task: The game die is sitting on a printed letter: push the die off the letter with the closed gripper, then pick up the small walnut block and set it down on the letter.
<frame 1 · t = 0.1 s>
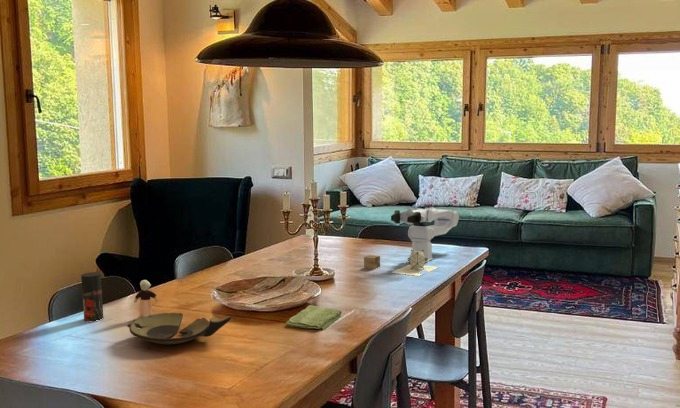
hand: (399, 218, 277), 22 cm above the table, tool horizontal, fingers open, 7 cm apart
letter: (415, 270, 278), on the table
deodorant: (93, 319, 217), on the table
grandmother figurine: (147, 318, 218), on the table
washcloth: (315, 323, 212), on the table
oil lamp: (177, 342, 195), on the table
game die: (417, 269, 280), resting on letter
walnut block: (372, 267, 284), on the table
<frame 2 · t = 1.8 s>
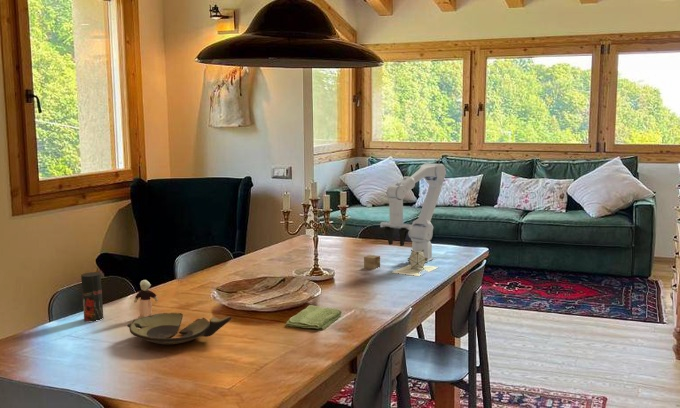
hand: (396, 244, 284), 9 cm above the table, tool pointing down, fingers open, 5 cm apart
nothing on the table moved.
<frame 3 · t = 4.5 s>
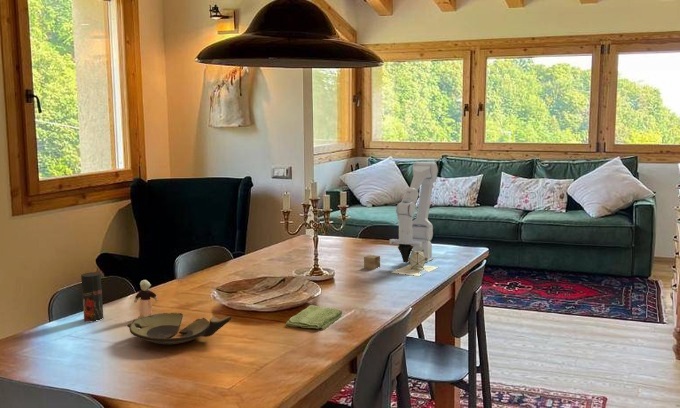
hand: (405, 262, 283), 2 cm above the table, tool pointing down, fingers closed
game die: (417, 269, 280), resting on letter, touching gripper
everything else where it was.
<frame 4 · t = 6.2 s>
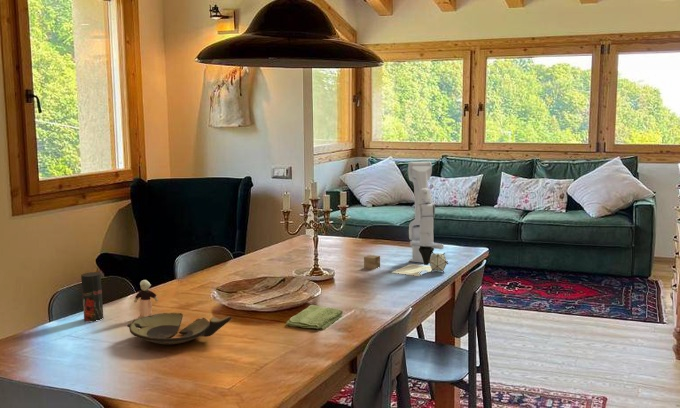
hand: (426, 264, 277), 2 cm above the table, tool pointing down, fingers closed
game die: (437, 272, 274), on the table, touching gripper
everything else where it was.
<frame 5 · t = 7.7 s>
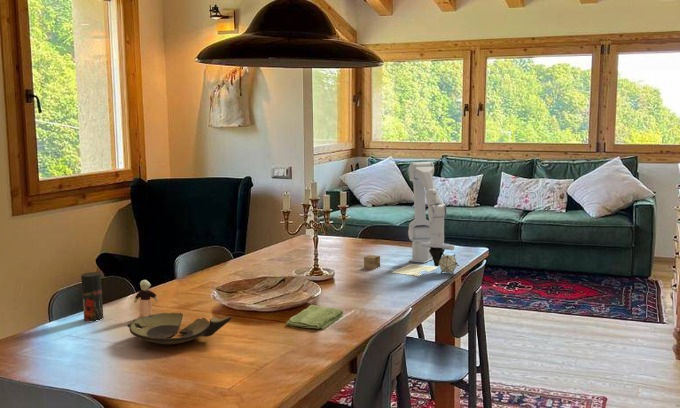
hand: (436, 265, 275), 2 cm above the table, tool pointing down, fingers closed
game die: (447, 273, 271), on the table, touching gripper
everything else where it was.
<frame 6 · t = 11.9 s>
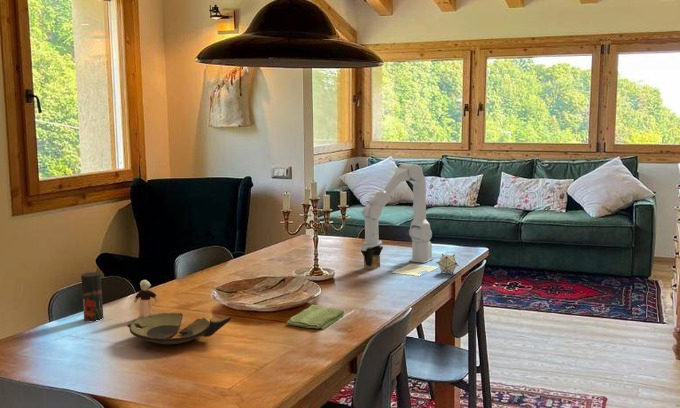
hand: (372, 264, 284), 1 cm above the table, tool pointing down, fingers closed on walnut block, 5 cm apart
game die: (447, 274, 271), on the table
walnut block: (372, 267, 284), on the table, touching gripper
everything else where it was.
when the fingers open (3 cm above the table, at t = 15.4 s): walnut block stays where it is, resting on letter.
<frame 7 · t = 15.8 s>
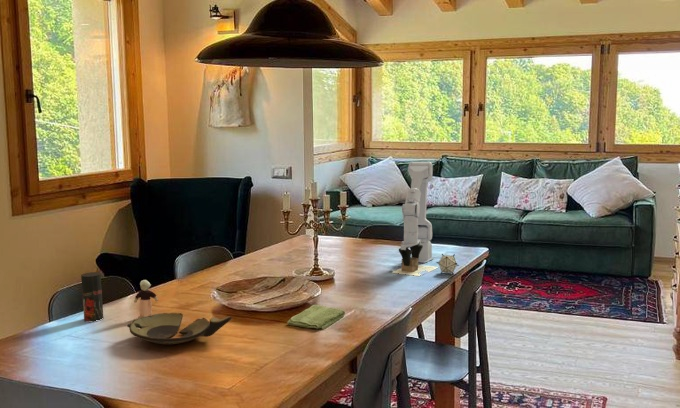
hand: (410, 263, 277), 3 cm above the table, tool pointing down, fingers open, 7 cm apart
walnut block: (409, 270, 278), resting on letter
everything else where it was.
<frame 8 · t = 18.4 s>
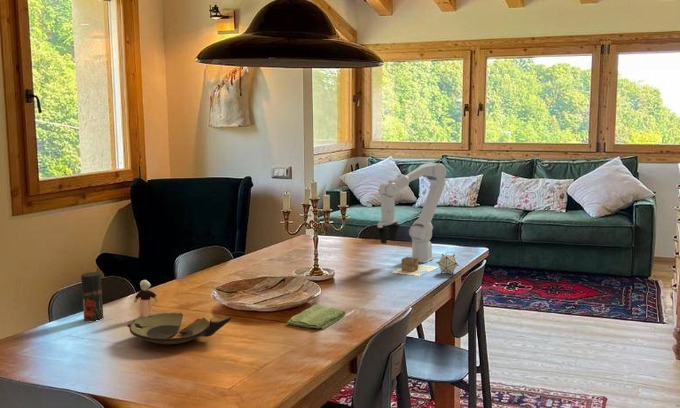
hand: (388, 241, 286), 10 cm above the table, tool pointing down, fingers open, 7 cm apart
nothing on the table moved.
at the end: game die inside the target area (10.1 cm from its centre), on the table; walnut block inside the target area on the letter (2.5 cm from its centre), point 0.1 cm above the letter's base; walnut block tilted 0° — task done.
